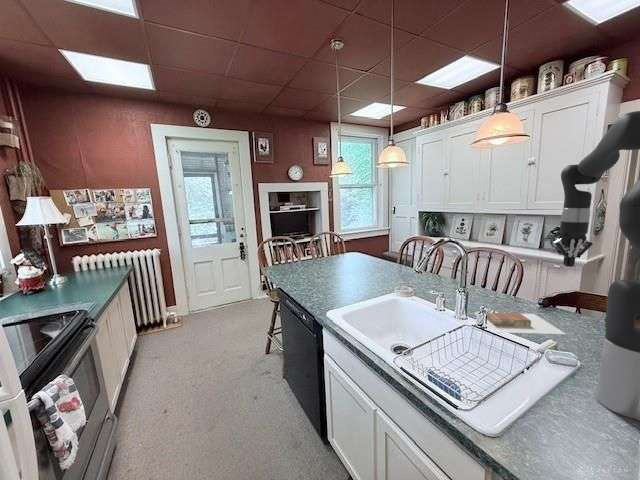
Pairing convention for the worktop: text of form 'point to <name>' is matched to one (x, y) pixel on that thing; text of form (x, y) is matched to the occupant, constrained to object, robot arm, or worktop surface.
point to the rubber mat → (536, 327)
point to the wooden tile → (508, 319)
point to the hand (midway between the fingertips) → (568, 266)
